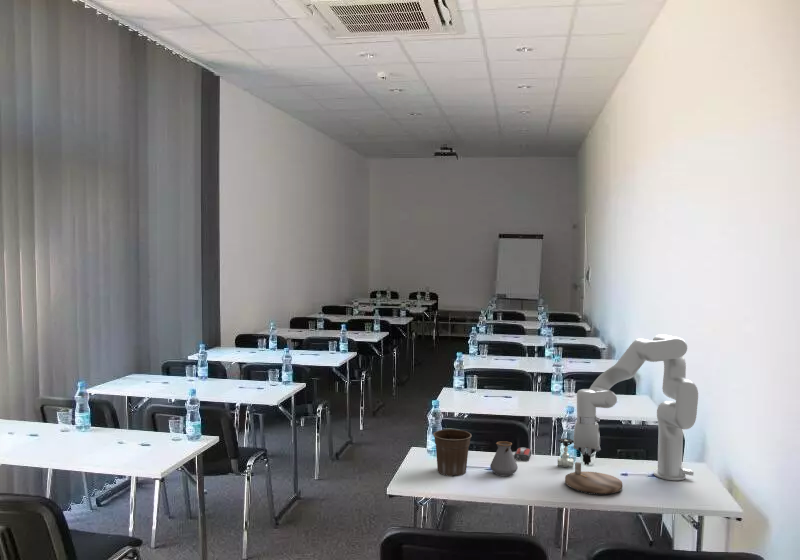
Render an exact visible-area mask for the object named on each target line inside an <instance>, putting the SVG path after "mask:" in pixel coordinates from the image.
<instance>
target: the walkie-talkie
mask: <svg viewBox="0 0 800 560" xmlns="http://www.w3.org/2000/svg"><path fill="white" fill-rule="evenodd" d="M512 454H513V456H514V459H515V461H523V462H525V461H526V462H529V461H530V459H531V456H532V449H531V448H528V447H518V448H517V449H516V451H512ZM517 459H518V460H517Z"/></svg>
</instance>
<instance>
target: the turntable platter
mask: <svg viewBox="0 0 800 560" xmlns="http://www.w3.org/2000/svg"><path fill="white" fill-rule="evenodd" d="M564 482H565V484H566V485H567V486H568V487H570V488H572V489H574V490H575V489H577V490H576V491H578V490H580V491H579V492H581V491H584V492H590V493H601V494H603V495H606V494H605V493H611V494H613V493H618V492H620V491H621V490H622V489H623V481H622V480H621V479H619V477H616V476H614V475H611V474H607V473H603V472H597V471H582V462H579V461H576V462H575V463H574V472H570V473H568V474H565V477H564ZM584 492H583V493H584Z"/></svg>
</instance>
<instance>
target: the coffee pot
mask: <svg viewBox="0 0 800 560" xmlns="http://www.w3.org/2000/svg"><path fill="white" fill-rule="evenodd" d="M495 444H496V446H497V449H496V452H495V454H494V456H493V459H492V461H491V463H490V469H491V471H492V472H493V473H494V474H495V475H497V476H501V477H511V476H513V475H514V474H515V473H516V472H518V471H517V470H518V464H517V462H516V461H517V460H515V459H514V456H513V454H512V452H513V451H512V449H511V447H512V445H513V443H512V442H510V441H504V440H503V441H497V442H496V443H495Z"/></svg>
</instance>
